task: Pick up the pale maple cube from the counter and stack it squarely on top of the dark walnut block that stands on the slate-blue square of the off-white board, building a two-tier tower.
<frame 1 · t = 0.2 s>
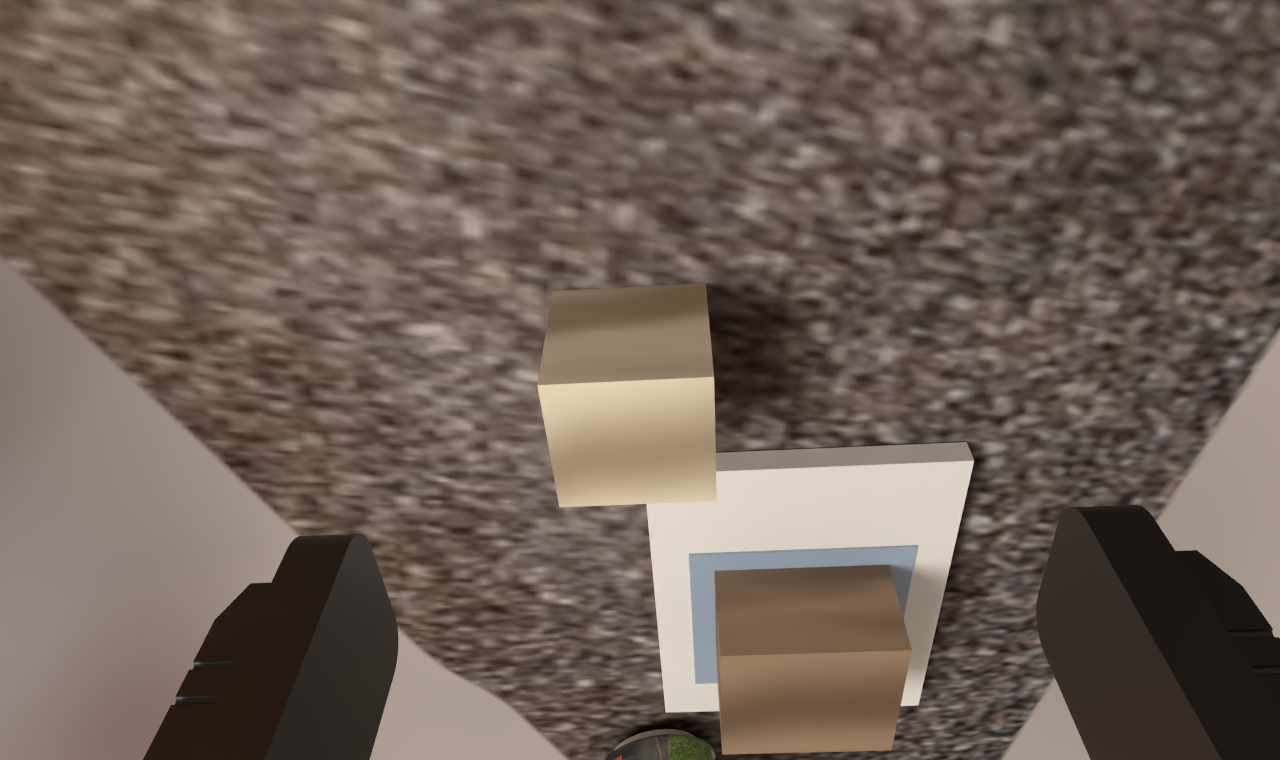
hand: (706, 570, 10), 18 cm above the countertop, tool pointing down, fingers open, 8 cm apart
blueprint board: (795, 585, 38), on the countertop
walnut block: (797, 620, 38), point 1 cm above the countertop, touching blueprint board
maple cube: (634, 347, 30), on the countertop
beverage can: (670, 743, 47), on the countertop
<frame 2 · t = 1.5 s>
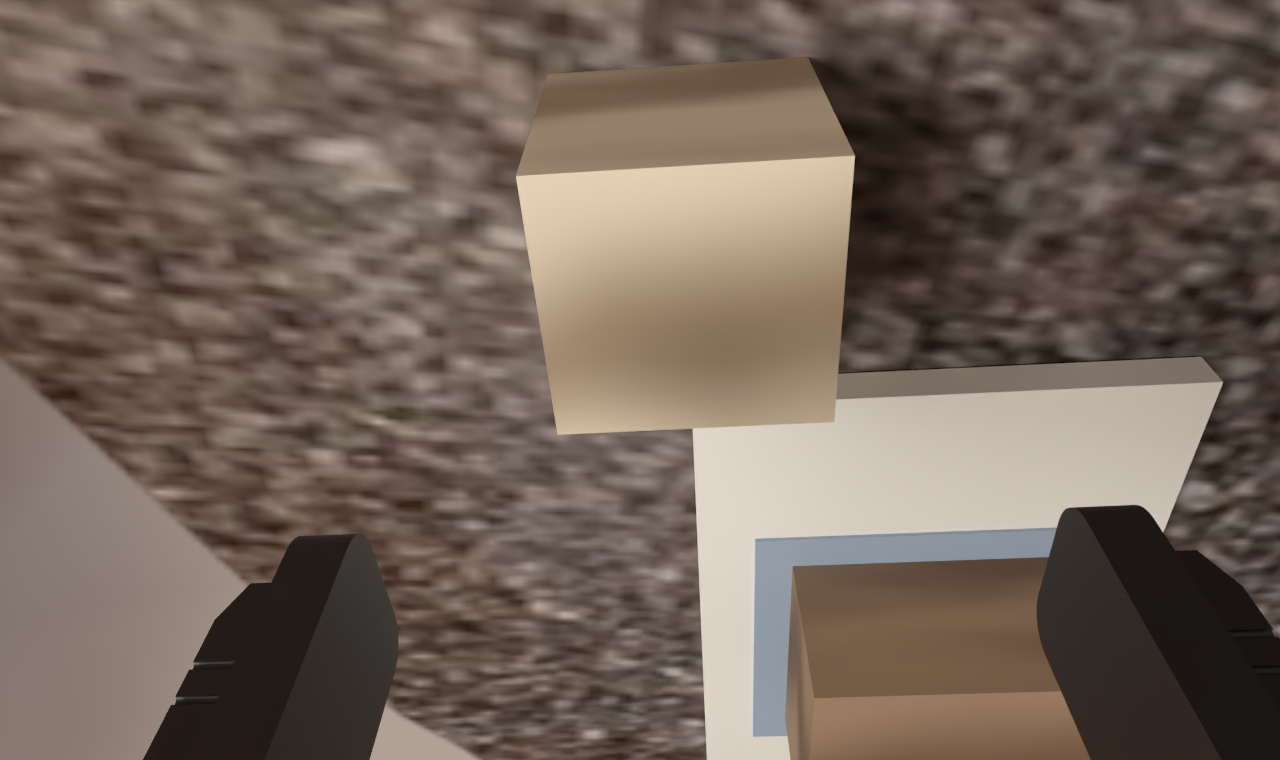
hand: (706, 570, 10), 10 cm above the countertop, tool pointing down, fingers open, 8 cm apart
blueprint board: (905, 591, 26), on the countertop
walnut block: (910, 644, 25), point 1 cm above the countertop, touching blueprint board
maple cube: (682, 185, 19), on the countertop
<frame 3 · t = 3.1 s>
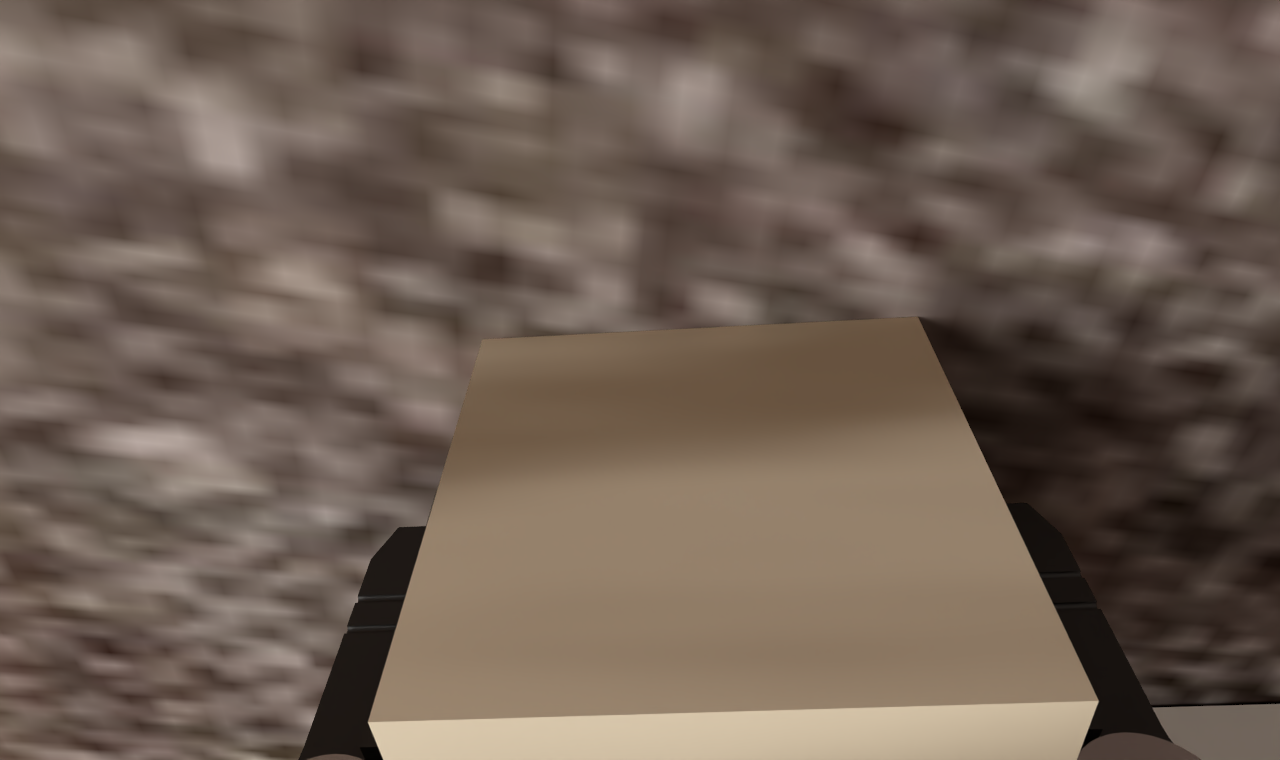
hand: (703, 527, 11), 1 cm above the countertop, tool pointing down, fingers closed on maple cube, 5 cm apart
maple cube: (703, 490, 12), on the countertop, touching gripper
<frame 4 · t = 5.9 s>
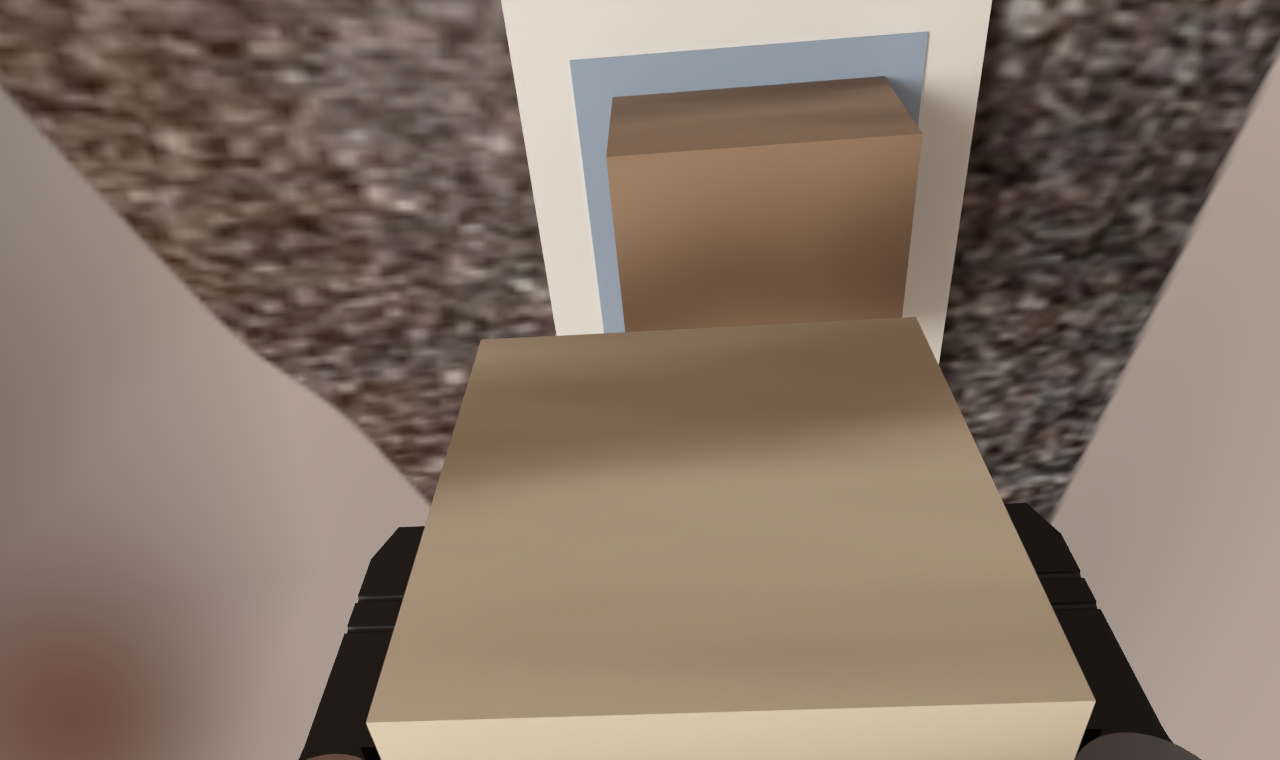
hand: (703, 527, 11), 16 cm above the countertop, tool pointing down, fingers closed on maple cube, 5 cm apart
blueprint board: (744, 161, 25), on the countertop
walnut block: (748, 210, 25), point 1 cm above the countertop, touching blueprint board
maple cube: (702, 490, 12), point 16 cm above the countertop, touching gripper
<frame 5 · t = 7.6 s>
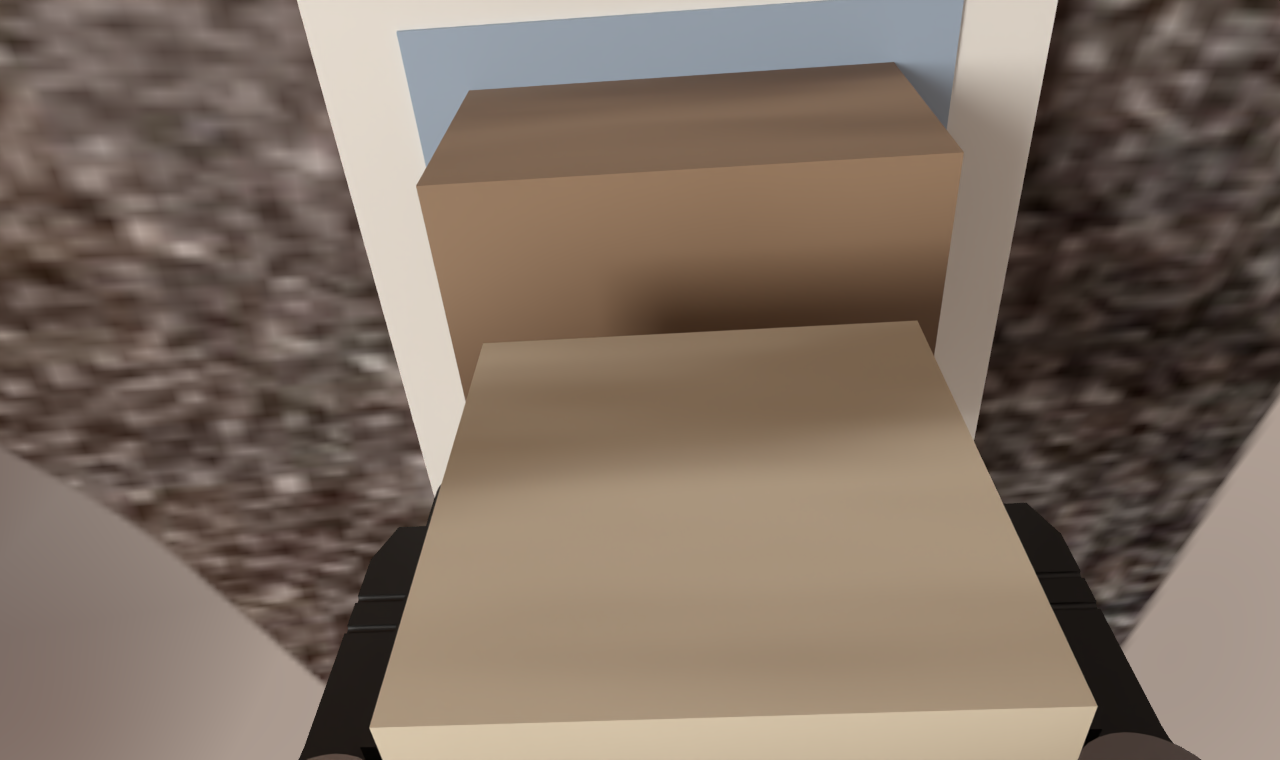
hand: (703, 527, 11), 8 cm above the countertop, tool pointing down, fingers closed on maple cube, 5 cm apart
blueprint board: (683, 191, 17), on the countertop
walnut block: (687, 265, 17), point 1 cm above the countertop, touching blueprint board
maple cube: (703, 493, 12), point 7 cm above the countertop, touching gripper
when the fingers open (6 cm above the countertop, at t = 8.8 s): maple cube stays where it is, resting on walnut block.
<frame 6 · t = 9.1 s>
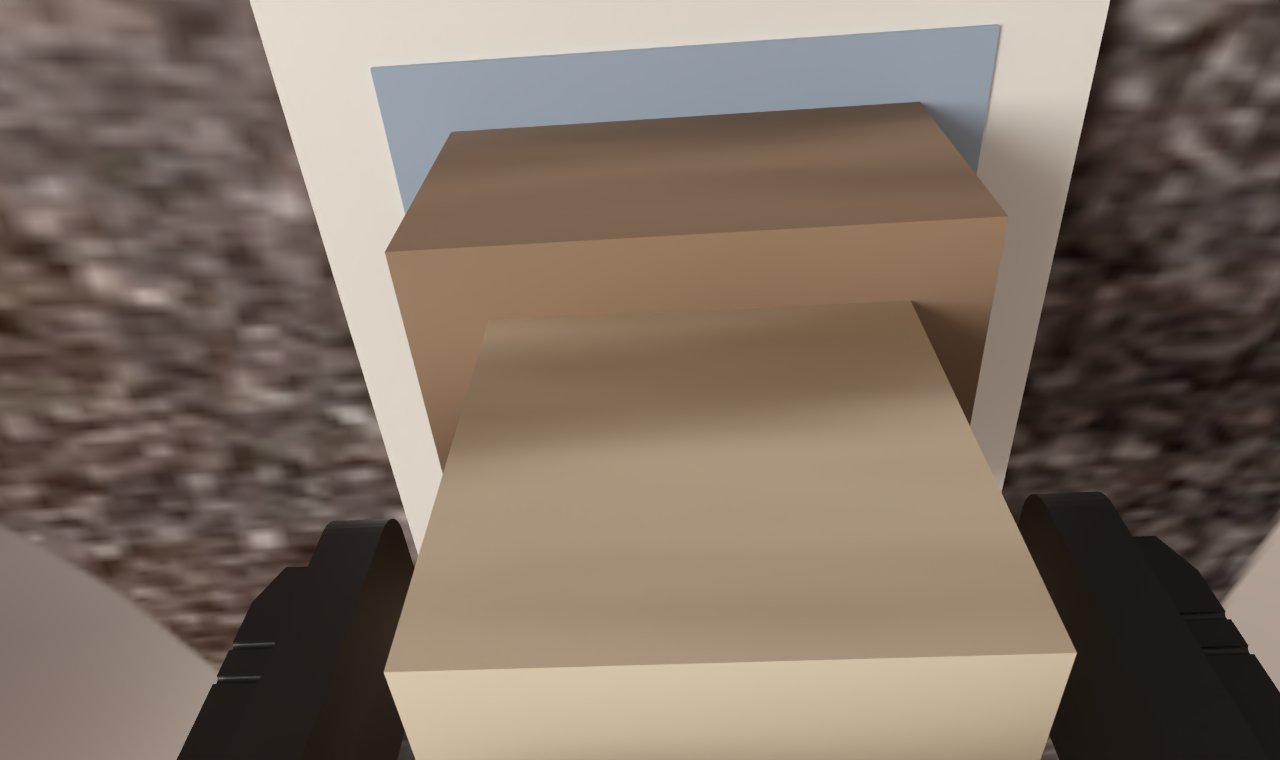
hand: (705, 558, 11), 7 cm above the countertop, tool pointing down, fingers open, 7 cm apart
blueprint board: (686, 236, 16), on the countertop
walnut block: (690, 317, 15), point 1 cm above the countertop, touching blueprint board, maple cube
maple cube: (702, 470, 12), point 5 cm above the countertop, touching walnut block
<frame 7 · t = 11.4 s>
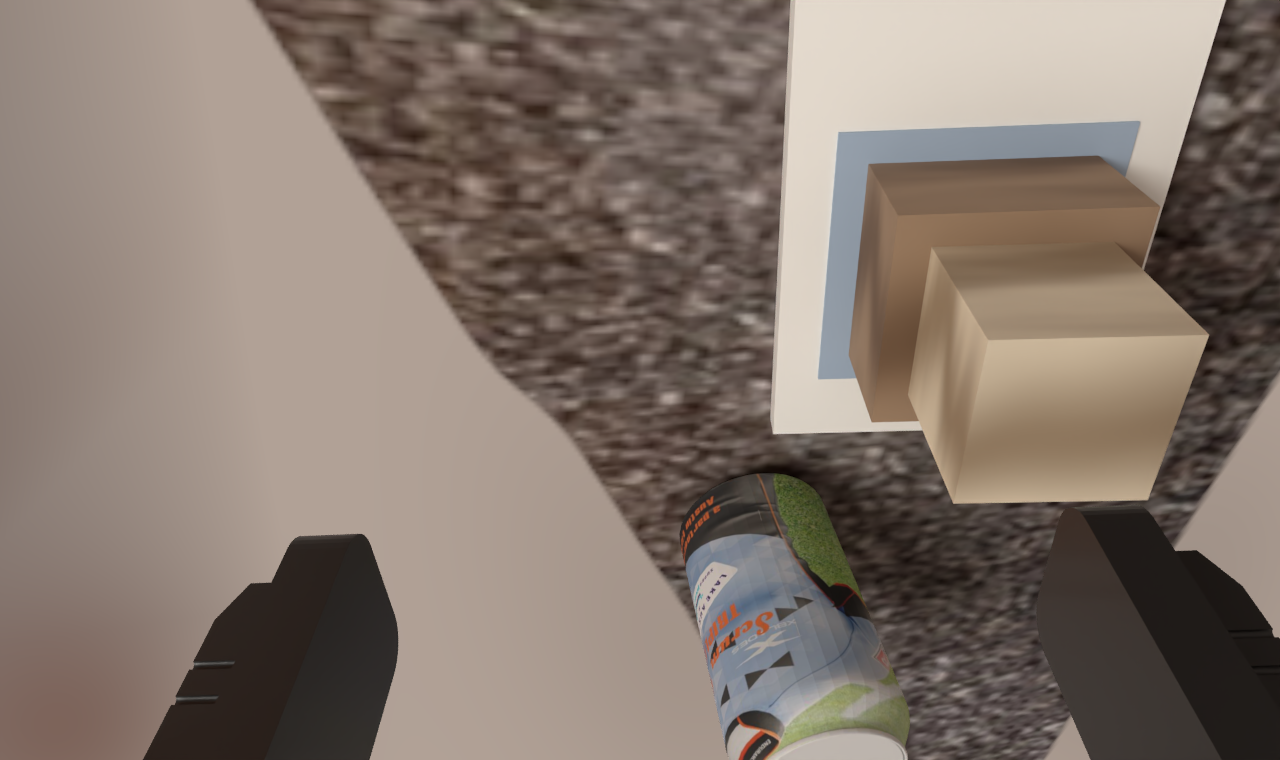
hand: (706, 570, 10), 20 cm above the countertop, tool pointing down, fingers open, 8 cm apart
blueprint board: (959, 220, 30), on the countertop
walnut block: (964, 262, 29), point 1 cm above the countertop, touching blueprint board, maple cube
maple cube: (1005, 322, 26), point 5 cm above the countertop, touching walnut block
beverage can: (765, 511, 37), on the countertop
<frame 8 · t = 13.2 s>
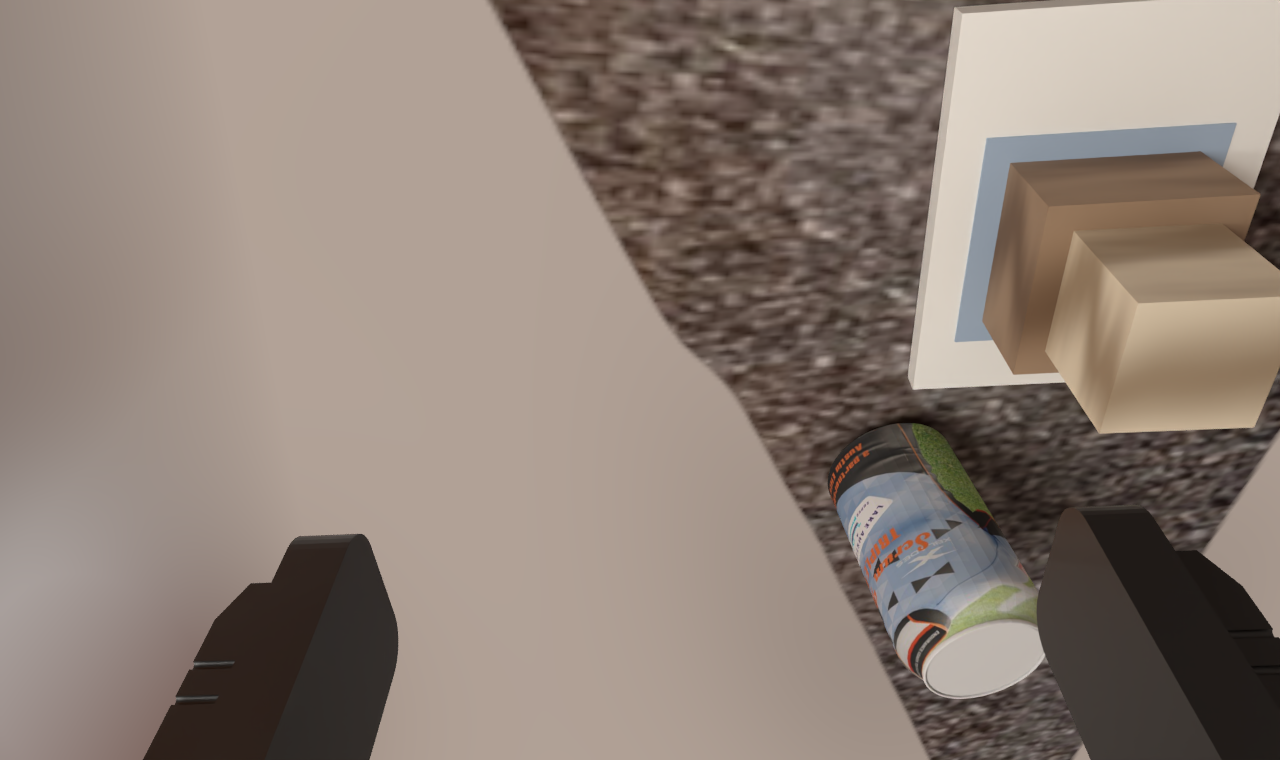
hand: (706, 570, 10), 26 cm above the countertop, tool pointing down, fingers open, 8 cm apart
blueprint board: (1079, 206, 36), on the countertop
walnut block: (1084, 241, 35), point 1 cm above the countertop, touching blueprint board, maple cube
maple cube: (1129, 290, 32), point 5 cm above the countertop, touching walnut block
beverage can: (896, 457, 43), on the countertop
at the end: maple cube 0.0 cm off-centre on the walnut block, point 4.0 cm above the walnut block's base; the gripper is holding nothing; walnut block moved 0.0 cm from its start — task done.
